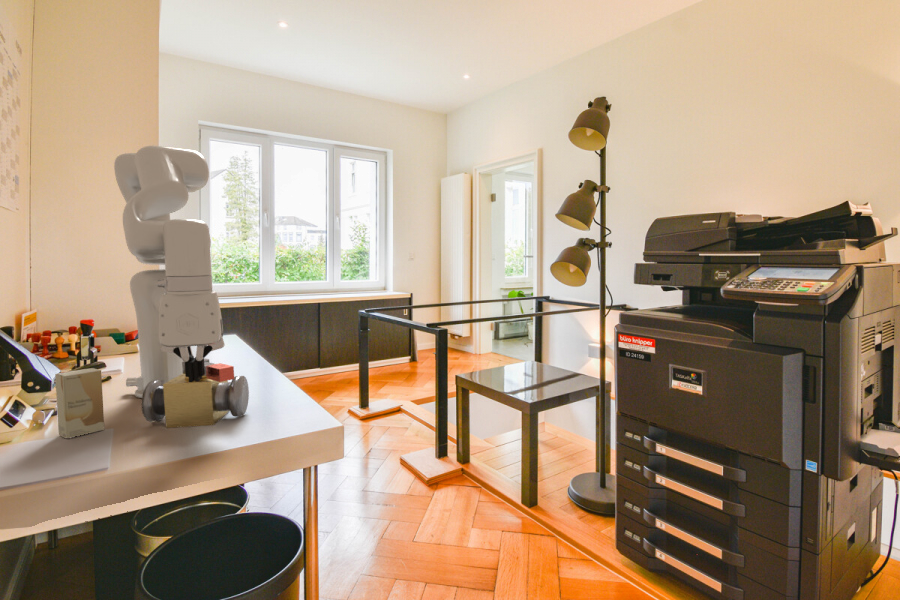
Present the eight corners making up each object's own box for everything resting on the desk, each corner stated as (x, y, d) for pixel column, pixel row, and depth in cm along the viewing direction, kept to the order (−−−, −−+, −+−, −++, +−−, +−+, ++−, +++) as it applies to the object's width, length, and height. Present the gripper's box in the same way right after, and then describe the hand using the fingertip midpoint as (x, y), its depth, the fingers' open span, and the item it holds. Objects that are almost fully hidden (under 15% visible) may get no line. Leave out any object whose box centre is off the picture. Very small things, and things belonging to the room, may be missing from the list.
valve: (142, 429, 89) (138, 381, 88) (165, 414, 98) (161, 371, 97) (236, 423, 91) (233, 377, 90) (250, 409, 100) (247, 367, 99)
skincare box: (66, 440, 84) (61, 376, 83) (58, 435, 86) (52, 373, 85) (107, 429, 89) (102, 369, 88) (97, 425, 92) (92, 366, 91)
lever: (178, 373, 93) (177, 361, 93) (203, 368, 97) (202, 356, 97) (214, 383, 84) (213, 370, 84) (239, 377, 88) (239, 365, 88)
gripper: (136, 287, 79) (144, 388, 81) (229, 285, 83) (234, 381, 85) (151, 285, 86) (158, 378, 88) (236, 283, 90) (240, 372, 92)
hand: (195, 379), depth 86 cm, fingers closed
